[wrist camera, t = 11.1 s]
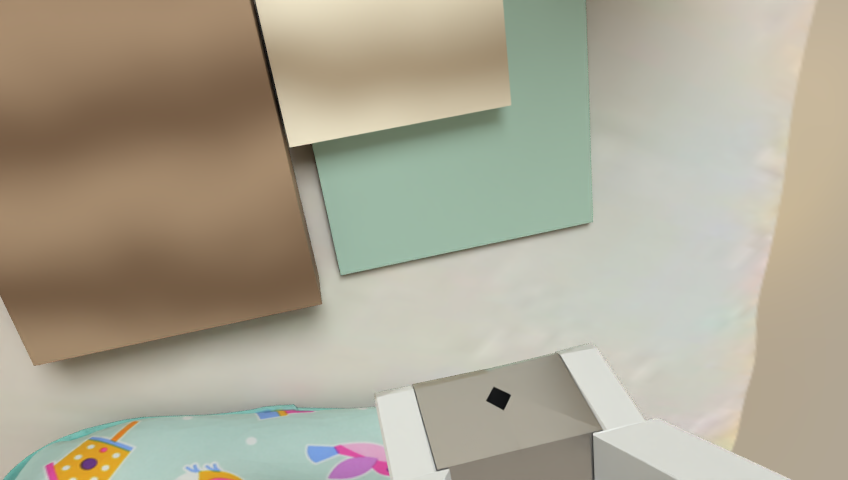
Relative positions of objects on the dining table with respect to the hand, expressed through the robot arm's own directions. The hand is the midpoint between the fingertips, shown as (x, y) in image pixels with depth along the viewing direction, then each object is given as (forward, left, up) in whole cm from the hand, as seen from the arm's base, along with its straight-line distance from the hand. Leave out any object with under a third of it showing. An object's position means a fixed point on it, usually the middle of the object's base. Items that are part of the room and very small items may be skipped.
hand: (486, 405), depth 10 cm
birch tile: (0, +2, -21) cm, 21 cm away
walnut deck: (0, -9, -22) cm, 24 cm away
